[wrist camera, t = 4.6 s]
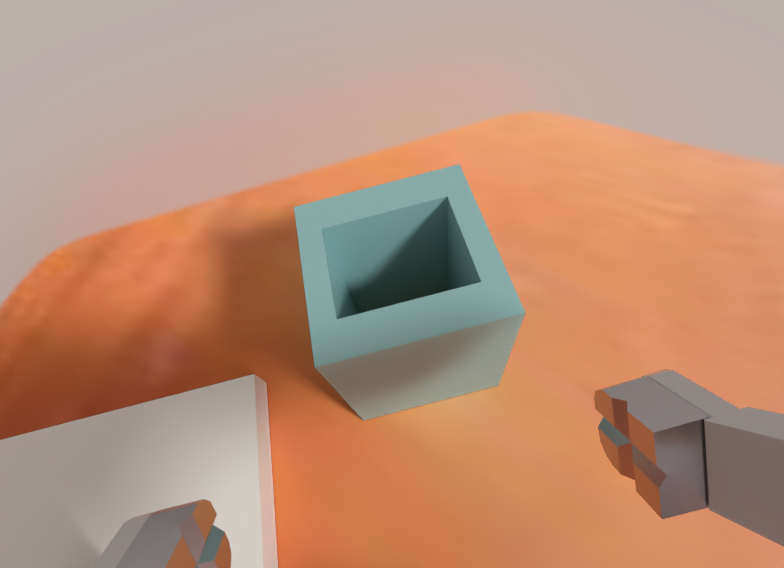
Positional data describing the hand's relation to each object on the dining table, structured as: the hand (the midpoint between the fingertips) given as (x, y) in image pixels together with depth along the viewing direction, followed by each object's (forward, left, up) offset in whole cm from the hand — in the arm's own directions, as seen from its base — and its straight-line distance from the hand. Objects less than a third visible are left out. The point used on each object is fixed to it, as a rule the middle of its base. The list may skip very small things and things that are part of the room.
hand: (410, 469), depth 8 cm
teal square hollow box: (+7, +1, -10) cm, 13 cm away
